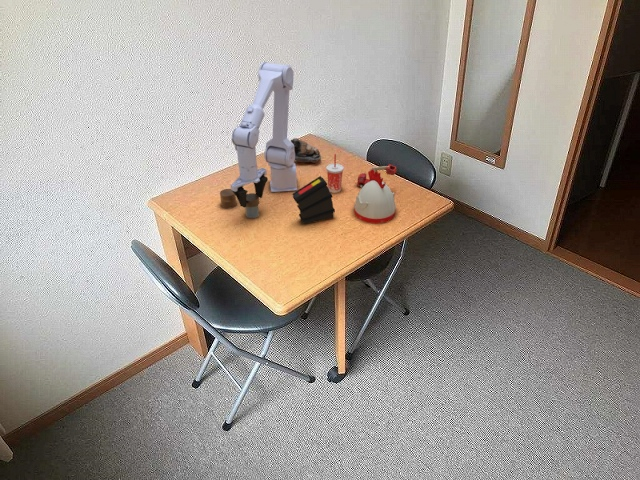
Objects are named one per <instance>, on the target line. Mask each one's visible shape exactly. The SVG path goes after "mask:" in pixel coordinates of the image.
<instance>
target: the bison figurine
mask: <svg viewBox="0 0 640 480" xmlns="http://www.w3.org/2000/svg"><path fill="white" fill-rule="evenodd" d="M290 141H291V142H292V143H293V144H294V151H295V160H294V162H296V163H297V162H298V163H299V162H300V163H313V164H316V163H318V162H319V161H320V160H321V159H322V155H321V152H320V150H319V149H318V148H317V147H316V146H312V145H310V144H309V143H308V142H306V141H305V140H303V139H299V138H297V137H293V138H292V139H290Z"/></svg>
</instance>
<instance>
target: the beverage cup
mask: <svg viewBox="0 0 640 480" xmlns="http://www.w3.org/2000/svg"><path fill="white" fill-rule="evenodd" d="M333 161H334V163H329V164H328V165H327V166H326V168H325V169H326V174H327V184H328V185H327V187H328V189H329V192H330V193H331V194H332V193H333V194H337V193H340V192H341V191H342V183H343V171H344V169H345V168H344V165H342V164H340V163H337V154H335V153H334V160H333Z"/></svg>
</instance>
